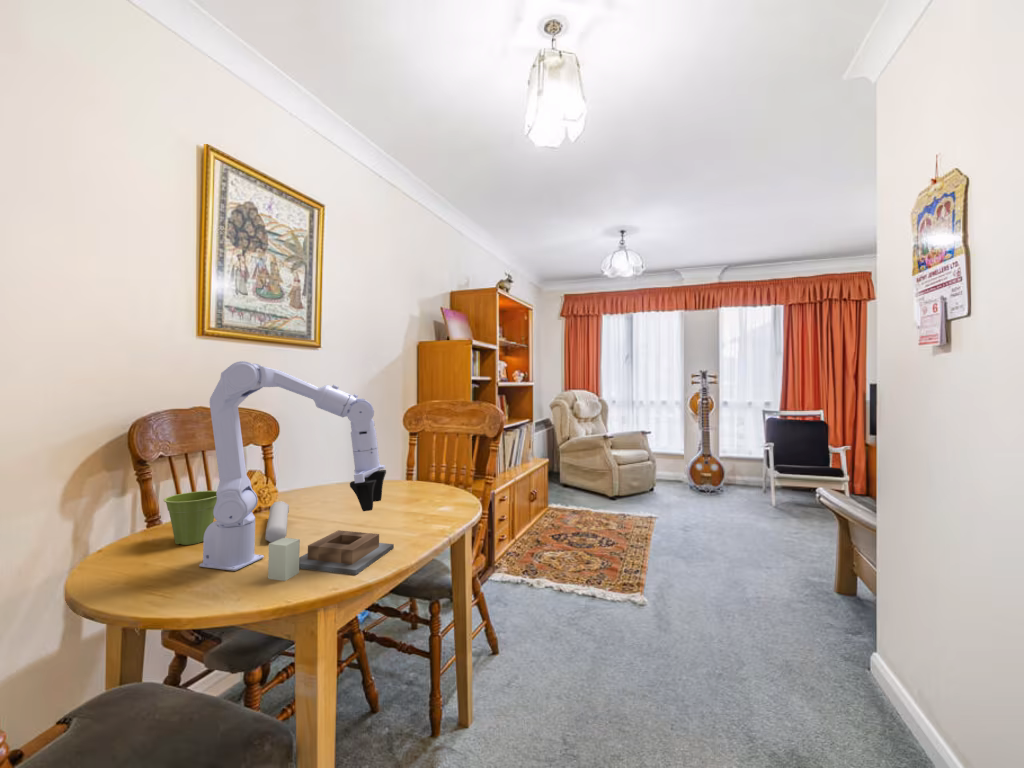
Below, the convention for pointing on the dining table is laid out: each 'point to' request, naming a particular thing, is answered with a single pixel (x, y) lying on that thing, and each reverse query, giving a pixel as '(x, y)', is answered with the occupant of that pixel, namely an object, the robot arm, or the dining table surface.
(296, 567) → the peg
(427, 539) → the dining table surface
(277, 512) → the tube
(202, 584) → the dining table surface
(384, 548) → the socket
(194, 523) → the plant pot
